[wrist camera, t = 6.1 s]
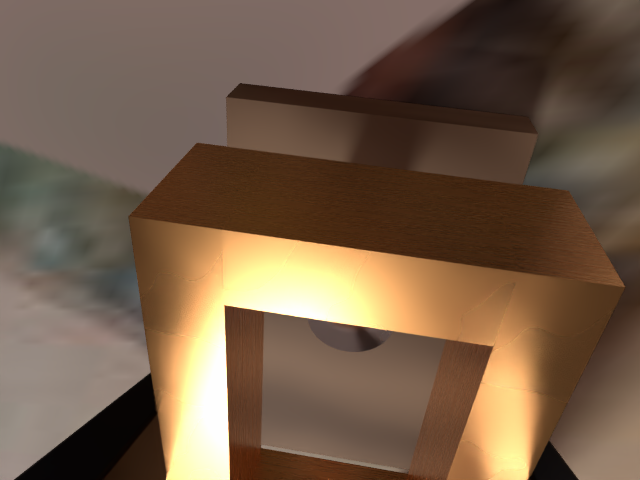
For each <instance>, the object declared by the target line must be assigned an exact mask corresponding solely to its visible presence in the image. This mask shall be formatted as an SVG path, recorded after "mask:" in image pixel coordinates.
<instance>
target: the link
mask: <svg viewBox="0 0 640 480" xmlns="http://www.w3.org/2000/svg"><path fill="white" fill-rule="evenodd" d="M128 217H129V224H130V231H131V238H132V245H133V252H134V258H135V265H136V272H137V279H138V286H139V293H140V300H141V307H142V314H143V321H144V328H145V335H146V342H147V349H148V356H149V363H150V370H151V377H152V384H153V391H154V398H155V405H156V412H157V413H158V418H159V425H160V432H161V439H162V446H163V453H164V460H165V467H166V474H167V478H166V480H528V478H529V477H530V476H531V475H532V473H533V471H534V469H535V467H536V465H537V463H538V461H539V459H540V457H541V455H542V453H543V451H544V449H545V447H546V445H547V443H548V441H549V439H550V437H551V435H552V433H553V431H554V429H555V427H556V425H557V423H558V421H559V419H560V417H561V415H562V413H563V411H564V409H565V407H566V405H567V403H568V401H569V399H570V397H571V395H572V393H573V391H574V389H575V387H576V385H577V383H578V381H579V379H580V377H581V375H582V373H583V371H584V369H585V367H586V365H587V363H588V361H589V359H590V357H591V355H592V353H593V351H594V349H595V347H596V345H597V343H598V341H599V339H600V337H601V335H602V333H603V331H604V329H605V327H606V325H607V323H608V321H609V319H610V317H611V315H612V313H613V311H614V309H615V307H616V305H617V303H618V301H619V299H620V297H621V295H622V293H623V291H624V289H625V286H624V284H623V282H622V281H621V279H620V277H619V276H618V274H617V272H616V270H615V269H614V267H613V265H612V264H611V262H610V260H609V259H608V257H607V255H606V253H605V252H604V250H603V248H602V247H601V245H600V243H599V242H598V240H597V238H596V236H595V235H594V233H593V231H592V230H591V228H590V226H589V225H588V223H587V221H586V219H585V218H584V216H583V214H582V213H581V211H580V209H579V208H578V206H577V204H576V202H575V201H574V199H573V197H572V196H571V194H570V192H569V191H566V190H558V189H551V188H543V187H535V186H528V185H520V184H512V183H504V182H497V181H489V180H481V179H473V178H466V177H458V176H450V175H443V174H435V173H427V172H419V171H412V170H404V169H396V168H388V167H381V166H373V165H365V164H358V163H350V162H342V161H334V160H327V159H319V158H311V157H303V156H296V155H288V154H280V153H273V152H265V151H257V150H249V149H242V148H234V147H226V146H218V145H211V144H202V143H196V144H195V145H194V147H192V149H191V150H190V151H189V152H188V153H187V154H186V155H185V156H184V157H183V158H182V159H181V160H180V162H179V163H178V164H177V165H176V166H175V167H174V168H173V169H172V170H171V171H170V172H169V173H168V174H167V176H166V177H165V178H164V179H163V180H162V181H161V182H160V183H159V184H158V185H157V186H156V187H155V189H154V190H153V191H152V192H151V193H150V194H149V195H148V196H147V197H146V198H145V199H144V200H143V201H142V202H141V204H140V205H139V206H138V207H137V208H136V209H135V210H134V211H133V212H132V213H131V214H130V215H129V216H128ZM264 311H266V312H273V313H279V314H286V315H292V316H299V317H305V318H312V319H318V320H325V321H331V322H337V323H344V324H350V325H357V326H363V327H370V328H376V329H383V330H389V331H396V332H402V333H409V334H415V335H422V336H428V337H435V338H441V339H446V341H445V345H444V348H443V352H442V355H441V359H440V362H439V366H438V370H437V373H436V377H435V380H434V384H433V387H432V391H431V394H430V398H429V401H428V405H427V408H426V412H425V416H424V419H423V423H422V426H421V430H420V433H419V437H418V440H417V444H416V447H415V451H414V454H413V458H412V461H411V465H410V469H409V472H408V474H405V473H400V472H394V471H388V470H382V469H377V468H371V467H365V466H360V465H354V464H348V463H343V462H337V461H331V460H326V459H320V458H314V457H308V456H303V455H297V454H291V453H286V452H280V451H274V450H269V449H263V448H261V427H262V384H263V341H264Z"/></svg>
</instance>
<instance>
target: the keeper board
mask: <svg viewBox="0 0 640 480" xmlns="http://www.w3.org/2000/svg"><path fill="white" fill-rule="evenodd" d="M226 103H227V104H226V107H227V147H234V148H242V149H249V150H257V151H265V152H273V153H280V154H288V155H296V156H303V157H311V158H319V159H327V160H334V161H342V162H350V163H358V164H365V165H373V166H381V167H388V168H396V169H404V170H412V171H419V172H427V173H435V174H443V175H450V176H458V177H466V178H473V179H481V180H489V181H497V182H504V183H512V184H520V185H522V184H523V181H524V178H525V175H526V172H527V169H528V166H529V162H530V159H531V156H532V153H533V150H534V147H535V144H536V141H537V137H538V133H537V131H536V130H535V128H534V126H533V125H532V123H531V121H530V120H529V118H528V117H524V116H516V115H507V114H499V113H490V112H482V111H473V110H464V109H456V108H447V107H439V106H430V105H422V104H413V103H405V102H396V101H388V100H379V99H370V98H362V97H353V96H345V95H336V94H328V93H319V92H310V91H302V90H293V89H285V88H276V87H268V86H259V85H251V84H242V83H240V84H239V85H238V86H237V87H236V88H235V89H234V90H233V91H232V92H231V93H230V94H229V95H228V96H227V97H226ZM445 341H446V339H441V338H435V337H428V336H422V335H415V334H409V333H402V332H396V331H392V333H391V335H390V336H389V338H388V339H387V340H386V341H385V342H384V343H383V344H381V345H380V346H378V347H376V348H374V349H371V350H368V351H362V352H347V351H342V350H338V349H335V348H333V347H330V346H328V345H327V344H325V343H324V342H322V341H321V340H320V339H319V338H317V336H316V335H315V334H314V333H313V331H312V330H311V328H310V326H309V323H308V318H305V317H299V316H292V315H286V314H279V313H273V312H266V311H264V341H263V384H262V427H261V444H262V445H268V446H273V447H279V448H285V449H291V450H297V451H302V452H308V453H314V454H320V455H326V456H332V457H337V458H343V459H349V460H355V461H361V462H366V463H372V464H378V465H384V466H390V467H396V468H401V469H407V470H409V469H410V465H411V461H412V458H413V454H414V451H415V447H416V444H417V440H418V437H419V433H420V430H421V426H422V423H423V419H424V416H425V412H426V408H427V405H428V401H429V398H430V394H431V391H432V387H433V384H434V380H435V377H436V373H437V370H438V366H439V362H440V359H441V355H442V352H443V348H444V345H445Z"/></svg>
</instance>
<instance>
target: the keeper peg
mask: <svg viewBox="0 0 640 480" xmlns="http://www.w3.org/2000/svg"><path fill="white" fill-rule="evenodd" d="M308 323H309V326H310V328H311V330H312V331H313V333H314V334H315V335H316V336H317V338H319V339H320V340H321V341H322V342H324V343H325V344H327V345H328V346H330V347H333V348H335V349H338V350H342V351H347V352H362V351H368V350H371V349H374V348H376V347H378V346H380V345H381V344H383V343H384V342H385V341H386V340H387V339H388V338H389V336H390V335H391V333H392V331H389V330H383V329H376V328H370V327H363V326H357V325H350V324H344V323H337V322H331V321H325V320H318V319H312V318H308Z"/></svg>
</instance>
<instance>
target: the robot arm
mask: <svg viewBox="0 0 640 480" xmlns="http://www.w3.org/2000/svg"><path fill="white" fill-rule="evenodd" d="M166 478H167V474H166V467H165V460H164V453H163V446H162V439H161V432H160V425H159V418H158V413H157V412H156V405H155V398H154V391H153V384H152V377H151V373H150V374H148V375H147V376H146V377H144V378H143V379H142V380H141V381H139V382H138V383H137V384H136V385H134V386H133V387H132V388H130V389H129V390H128V391H127V392H125V393H124V394H123V395H121V396H120V397H119V398H118V399H116V400H115V401H114V402H113V403H111V404H110V405H109V406H107V407H106V408H105V409H104V410H102V411H101V412H100V413H99V414H97V415H96V416H95V417H93V418H92V419H91V420H90V421H88V422H87V423H86V424H84V425H83V426H82V427H81V428H79V429H78V430H77V431H76V432H74V433H73V434H72V435H70V436H69V437H68V438H67V439H65V440H64V441H63V442H62V443H60V444H59V445H58V446H56V447H55V448H54V449H53V450H51V451H50V452H49V453H47V454H46V455H45V456H44V457H42V458H41V459H40V460H39V461H37V462H36V463H35V464H33V465H32V466H31V467H30V468H28V469H27V470H26V471H24V472H23V473H22V474H21V475H19V476H18V477H17V478H16V479H14V480H166ZM528 480H578V478H577V477H576V476H575V474H574V473H573V472H572V470H571V469H570V468H569V466H568V465H567V464H566V462H565V461H564V460H563V458H562V457H561V456H560V454H559V453H558V452H557V450H556V449H555V448H554V446H553V445H552V444H551V442H550V441H548V443H547V445H546V447H545V449H544V451H543V453H542V455H541V457H540V459H539V461H538V463H537V465H536V467H535V469H534V471H533V473H532V475H531V476H530V477H529V478H528Z"/></svg>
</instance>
